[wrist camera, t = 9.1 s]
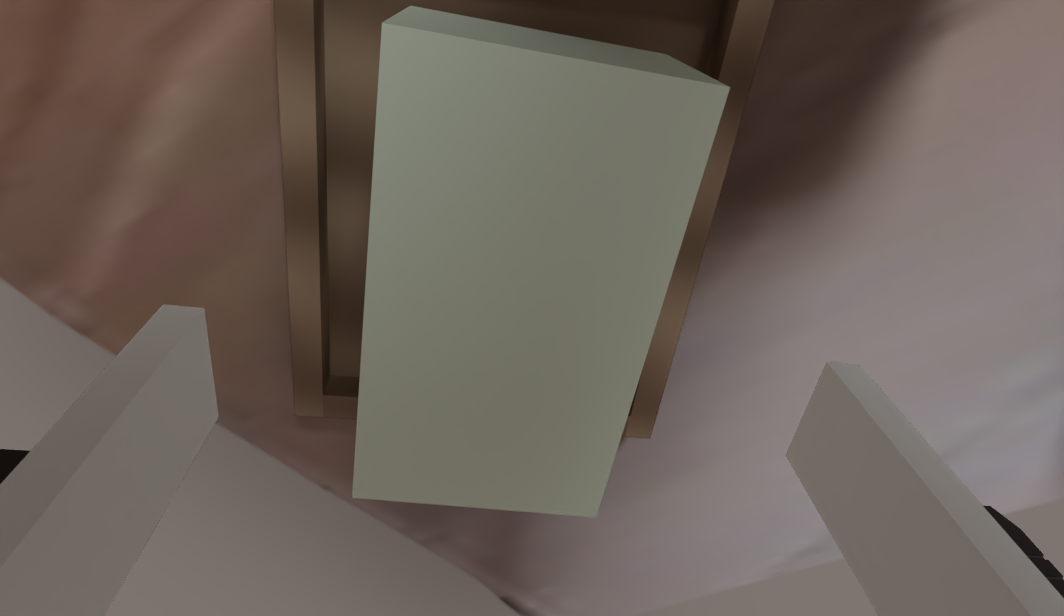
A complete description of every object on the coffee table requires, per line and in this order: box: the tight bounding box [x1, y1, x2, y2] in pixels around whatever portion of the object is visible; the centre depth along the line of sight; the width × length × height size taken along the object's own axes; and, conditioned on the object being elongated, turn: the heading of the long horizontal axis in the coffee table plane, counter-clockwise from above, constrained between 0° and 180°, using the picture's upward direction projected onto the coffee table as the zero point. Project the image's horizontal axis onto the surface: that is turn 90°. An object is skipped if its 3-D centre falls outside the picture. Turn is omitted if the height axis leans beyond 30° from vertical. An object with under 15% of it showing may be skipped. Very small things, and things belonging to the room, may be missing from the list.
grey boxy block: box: [352, 6, 730, 518], centre depth 20 cm, size 14×8×6 cm, turn 170°
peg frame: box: [274, 0, 775, 439], centre depth 24 cm, size 20×16×4 cm
